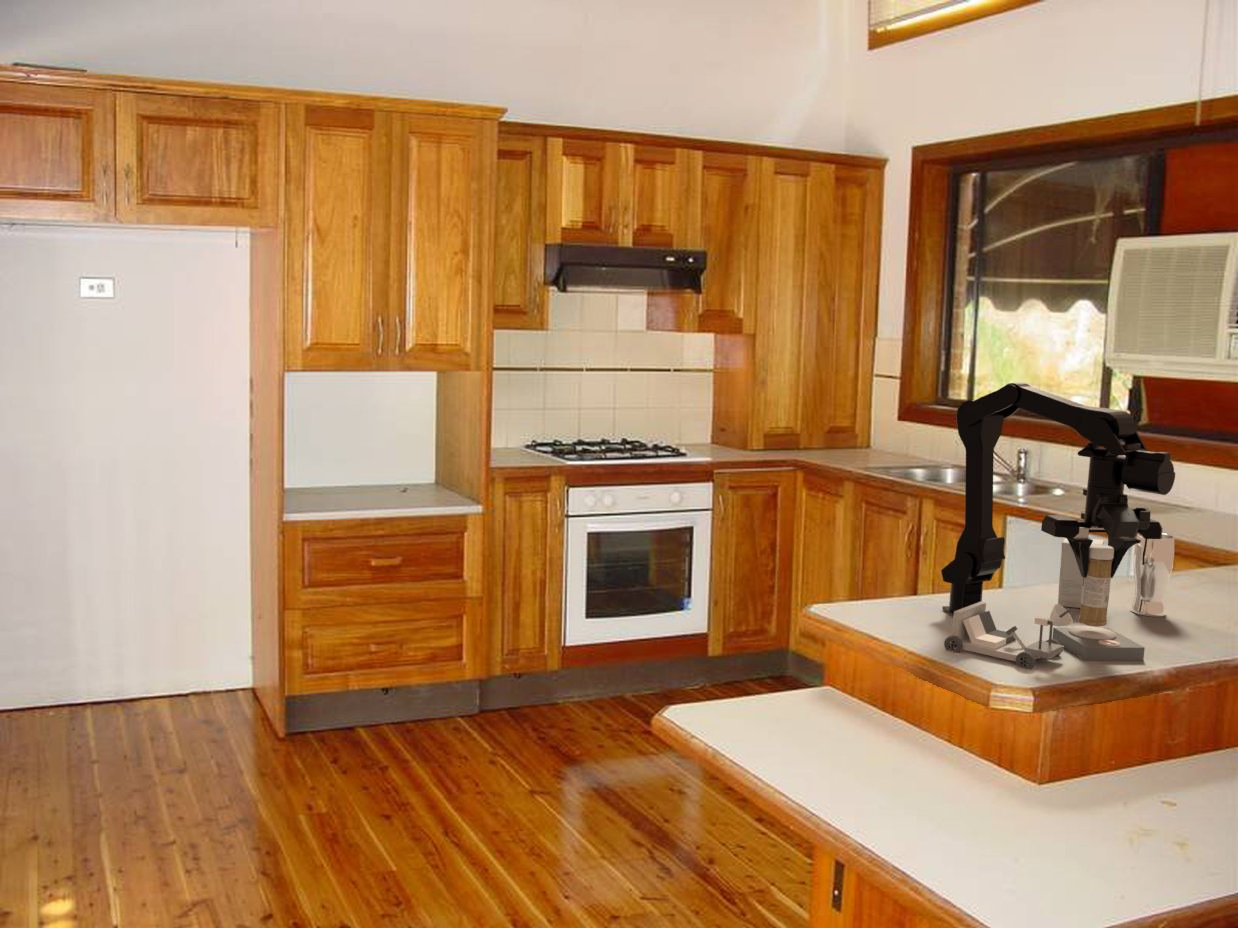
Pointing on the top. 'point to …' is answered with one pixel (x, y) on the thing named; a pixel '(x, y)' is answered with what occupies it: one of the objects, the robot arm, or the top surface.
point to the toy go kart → (1003, 636)
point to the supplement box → (1070, 577)
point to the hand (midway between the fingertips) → (1096, 577)
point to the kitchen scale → (1098, 643)
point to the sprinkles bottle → (1096, 586)
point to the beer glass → (1152, 574)
